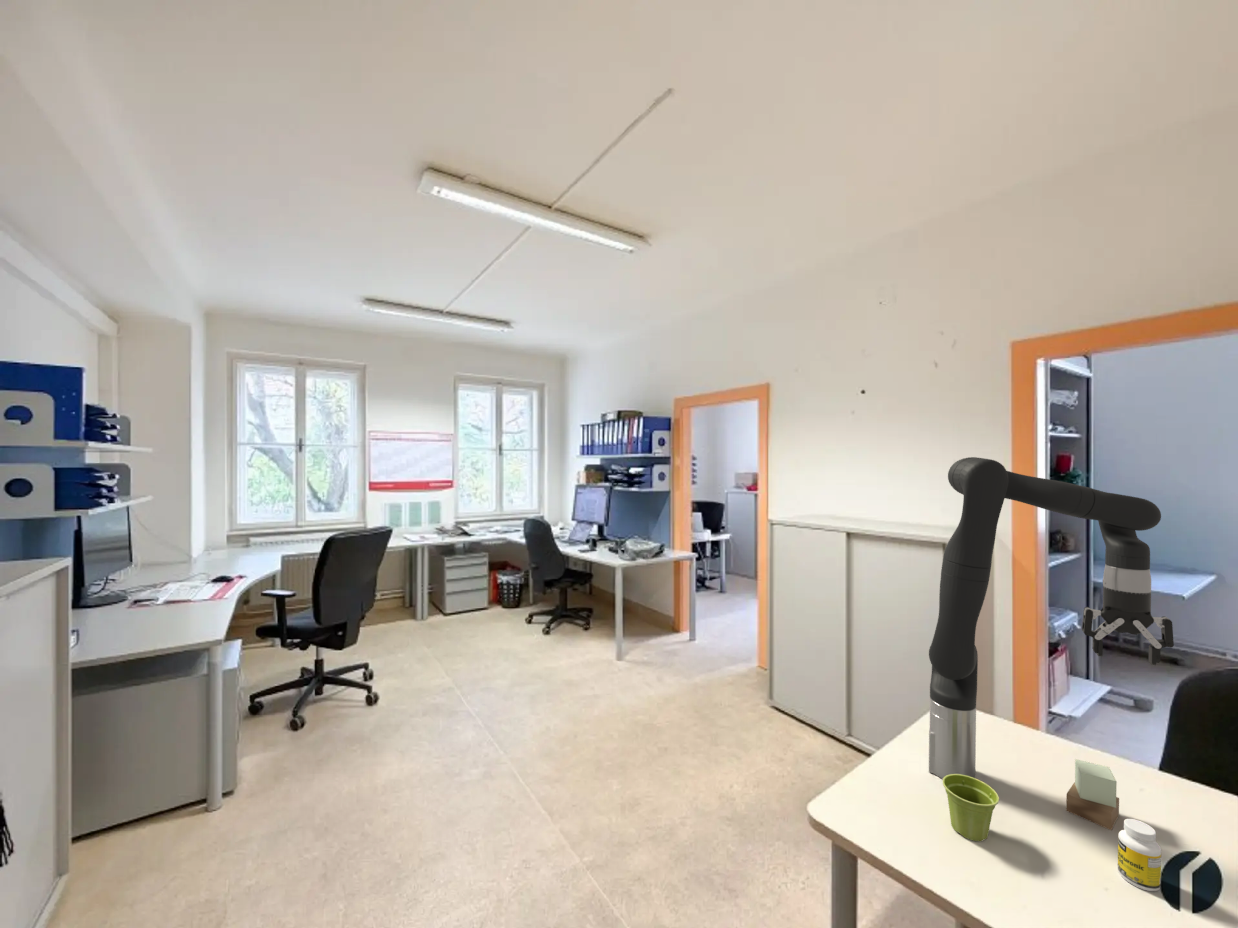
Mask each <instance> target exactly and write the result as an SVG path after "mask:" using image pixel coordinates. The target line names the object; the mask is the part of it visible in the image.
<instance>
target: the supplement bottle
mask: <svg viewBox="0 0 1238 928" xmlns="http://www.w3.org/2000/svg"><path fill="white" fill-rule="evenodd" d="M1156 833H1157V832H1156V830H1155V829H1154V828H1153V827H1152V826H1151V825H1149V824H1147V823H1146V822H1143V821H1140V820H1138V819H1135V818H1126V819H1124V820H1123V829H1121V830H1120V831H1119V832H1118V835H1117V838H1118V839H1117V871H1118V873H1119V875H1120V876H1121V877H1122V878H1123V879H1124V880H1125V881H1126V882H1128V883H1129V884H1131V885H1132V886H1134V887H1136V888H1138V889H1140V890H1143V891H1148V892H1158V891H1159V890H1160V889H1161V885H1162V848H1161V846H1160V845H1159V843H1158V842H1157V834H1156Z"/></svg>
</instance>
